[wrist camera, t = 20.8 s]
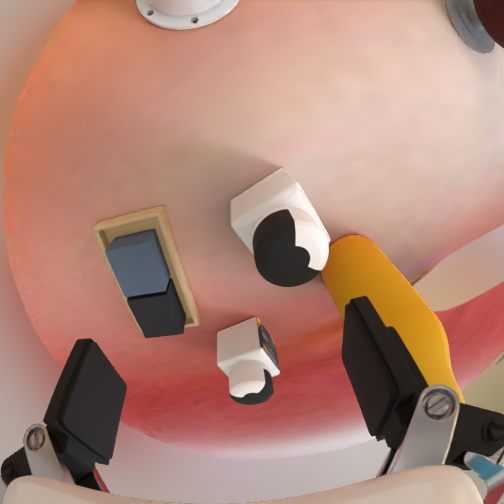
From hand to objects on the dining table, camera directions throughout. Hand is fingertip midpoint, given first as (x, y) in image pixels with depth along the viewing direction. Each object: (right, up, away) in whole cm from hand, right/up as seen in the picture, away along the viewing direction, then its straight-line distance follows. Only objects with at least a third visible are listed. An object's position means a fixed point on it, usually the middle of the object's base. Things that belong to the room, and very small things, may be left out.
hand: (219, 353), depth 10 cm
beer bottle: (+15, +2, +30) cm, 34 cm away
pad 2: (-12, -4, +30) cm, 33 cm away
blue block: (-13, +3, +27) cm, 30 cm away
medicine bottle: (0, -10, +36) cm, 37 cm away
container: (+4, +9, +26) cm, 27 cm away
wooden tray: (-13, +1, +29) cm, 31 cm away
